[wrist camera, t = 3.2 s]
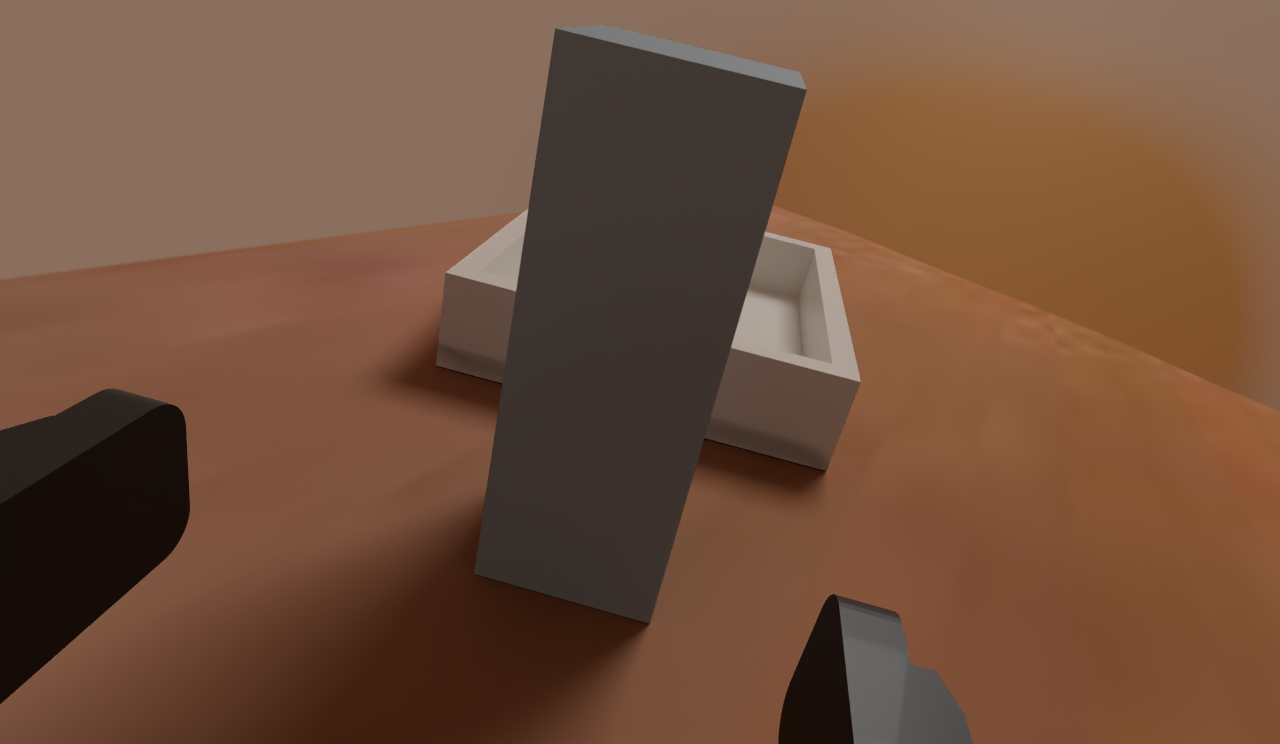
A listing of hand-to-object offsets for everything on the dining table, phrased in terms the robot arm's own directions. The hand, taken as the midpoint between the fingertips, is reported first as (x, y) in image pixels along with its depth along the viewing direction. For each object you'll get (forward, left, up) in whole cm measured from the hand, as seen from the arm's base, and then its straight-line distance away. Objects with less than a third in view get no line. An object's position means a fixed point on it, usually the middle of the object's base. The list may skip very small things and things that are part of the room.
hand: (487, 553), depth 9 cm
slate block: (0, -11, -9) cm, 14 cm away
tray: (0, -28, -9) cm, 30 cm away
